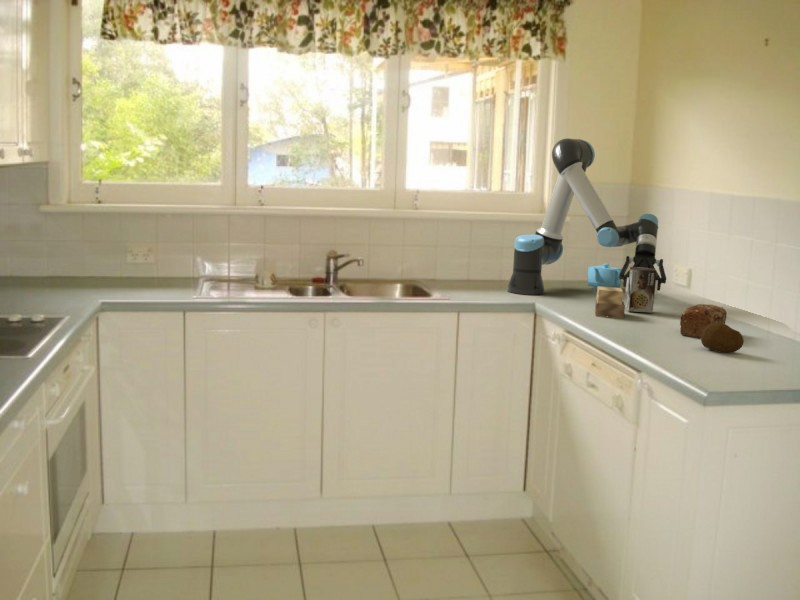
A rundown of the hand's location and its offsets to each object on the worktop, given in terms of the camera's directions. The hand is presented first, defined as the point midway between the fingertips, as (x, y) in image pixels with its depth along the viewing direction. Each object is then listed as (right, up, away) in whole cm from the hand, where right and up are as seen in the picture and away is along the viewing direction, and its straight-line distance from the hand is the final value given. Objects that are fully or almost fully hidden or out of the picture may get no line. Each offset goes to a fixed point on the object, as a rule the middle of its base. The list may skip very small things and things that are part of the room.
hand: (640, 294), depth 330 cm
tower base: (-13, -8, -6) cm, 16 cm away
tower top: (-13, -3, -7) cm, 15 cm away
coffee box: (0, -6, +4) cm, 7 cm away
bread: (+12, -14, -33) cm, 37 cm away
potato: (+8, -18, -60) cm, 63 cm away
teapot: (-2, +2, +56) cm, 56 cm away
